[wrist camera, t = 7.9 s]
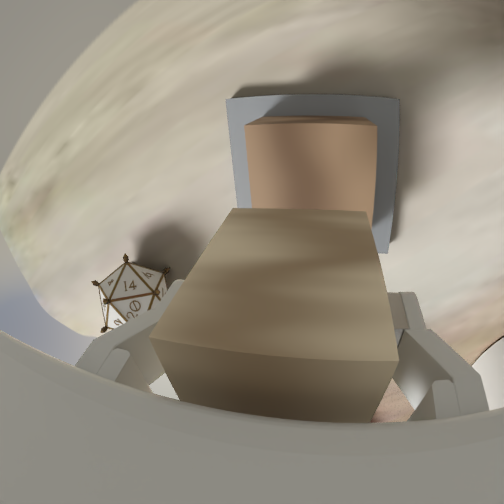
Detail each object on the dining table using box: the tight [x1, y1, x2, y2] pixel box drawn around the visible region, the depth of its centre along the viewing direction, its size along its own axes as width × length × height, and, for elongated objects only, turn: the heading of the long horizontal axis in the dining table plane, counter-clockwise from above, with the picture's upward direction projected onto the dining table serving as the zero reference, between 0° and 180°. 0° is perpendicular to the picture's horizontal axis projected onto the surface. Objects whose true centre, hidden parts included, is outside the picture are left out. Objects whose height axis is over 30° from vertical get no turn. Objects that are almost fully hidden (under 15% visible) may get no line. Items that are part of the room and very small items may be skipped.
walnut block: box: [244, 116, 377, 229], centre depth 18 cm, size 7×9×5 cm
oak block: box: [149, 208, 399, 423], centre depth 8 cm, size 4×4×6 cm
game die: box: [91, 254, 170, 333], centre depth 28 cm, size 9×8×10 cm
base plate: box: [226, 94, 400, 254], centre depth 21 cm, size 12×12×1 cm
